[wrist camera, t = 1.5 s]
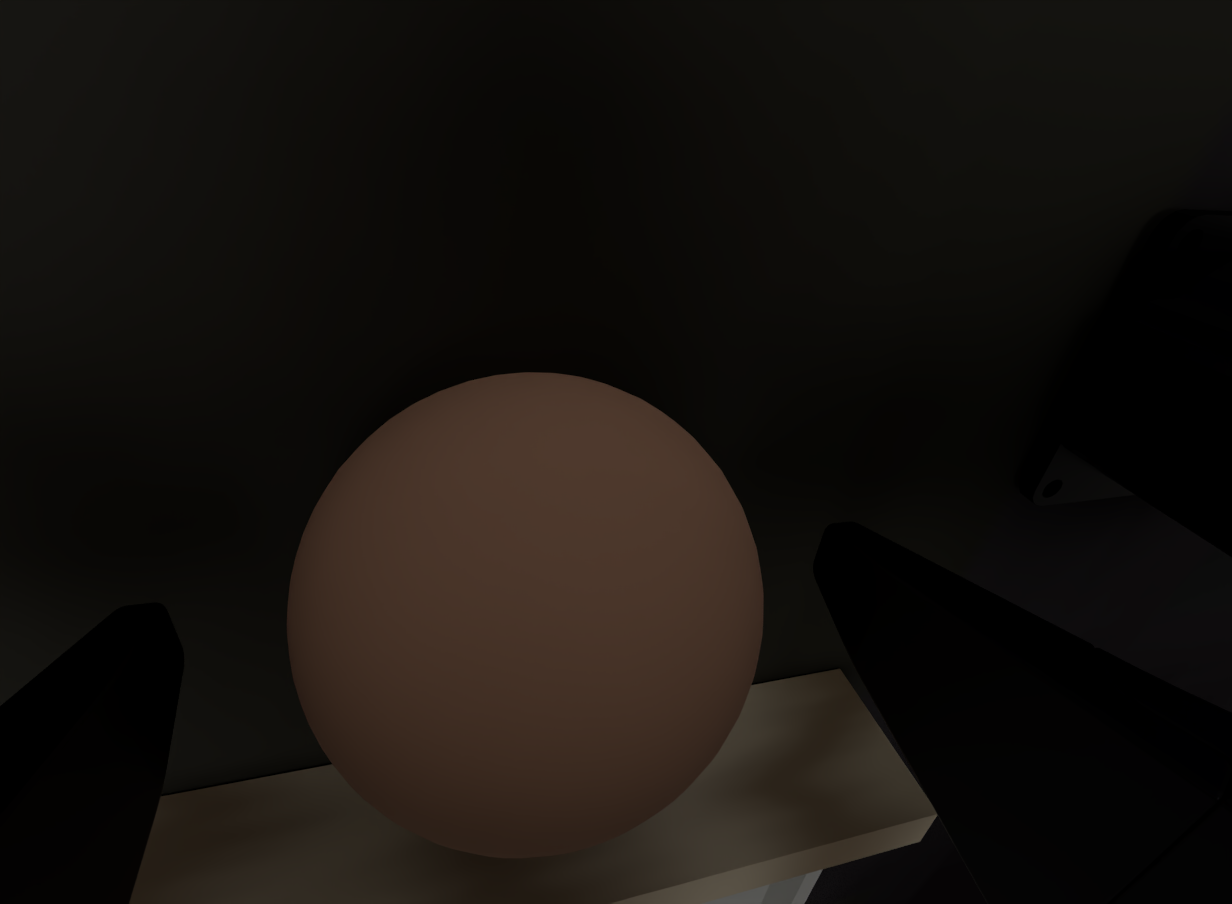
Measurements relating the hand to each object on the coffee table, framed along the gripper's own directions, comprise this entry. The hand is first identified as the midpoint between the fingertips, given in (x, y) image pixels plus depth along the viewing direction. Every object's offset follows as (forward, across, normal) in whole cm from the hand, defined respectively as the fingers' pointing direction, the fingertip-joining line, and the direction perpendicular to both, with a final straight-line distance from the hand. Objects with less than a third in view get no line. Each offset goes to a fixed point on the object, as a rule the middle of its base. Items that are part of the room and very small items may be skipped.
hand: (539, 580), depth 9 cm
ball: (+3, 0, 0) cm, 3 cm away
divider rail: (+3, 0, +8) cm, 8 cm away
